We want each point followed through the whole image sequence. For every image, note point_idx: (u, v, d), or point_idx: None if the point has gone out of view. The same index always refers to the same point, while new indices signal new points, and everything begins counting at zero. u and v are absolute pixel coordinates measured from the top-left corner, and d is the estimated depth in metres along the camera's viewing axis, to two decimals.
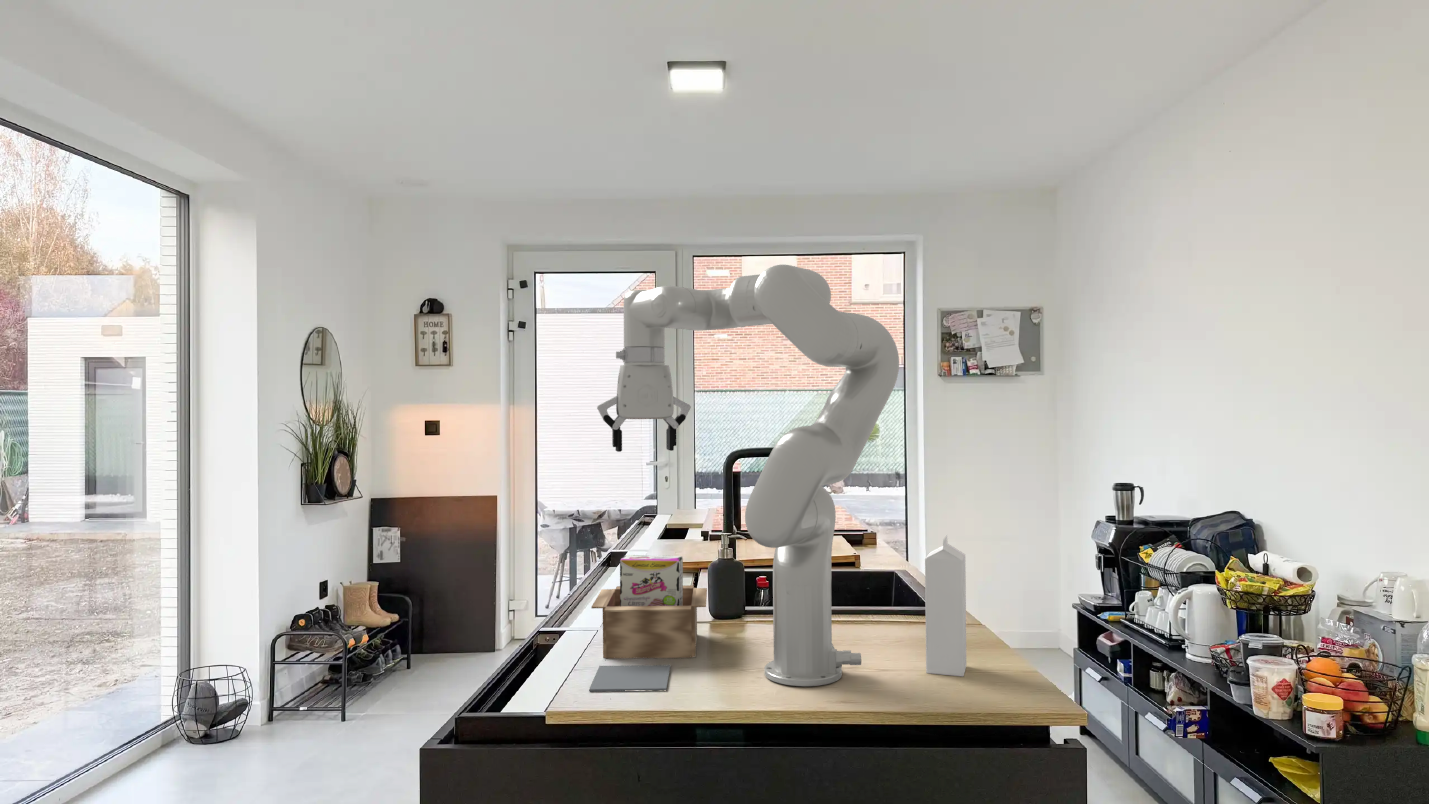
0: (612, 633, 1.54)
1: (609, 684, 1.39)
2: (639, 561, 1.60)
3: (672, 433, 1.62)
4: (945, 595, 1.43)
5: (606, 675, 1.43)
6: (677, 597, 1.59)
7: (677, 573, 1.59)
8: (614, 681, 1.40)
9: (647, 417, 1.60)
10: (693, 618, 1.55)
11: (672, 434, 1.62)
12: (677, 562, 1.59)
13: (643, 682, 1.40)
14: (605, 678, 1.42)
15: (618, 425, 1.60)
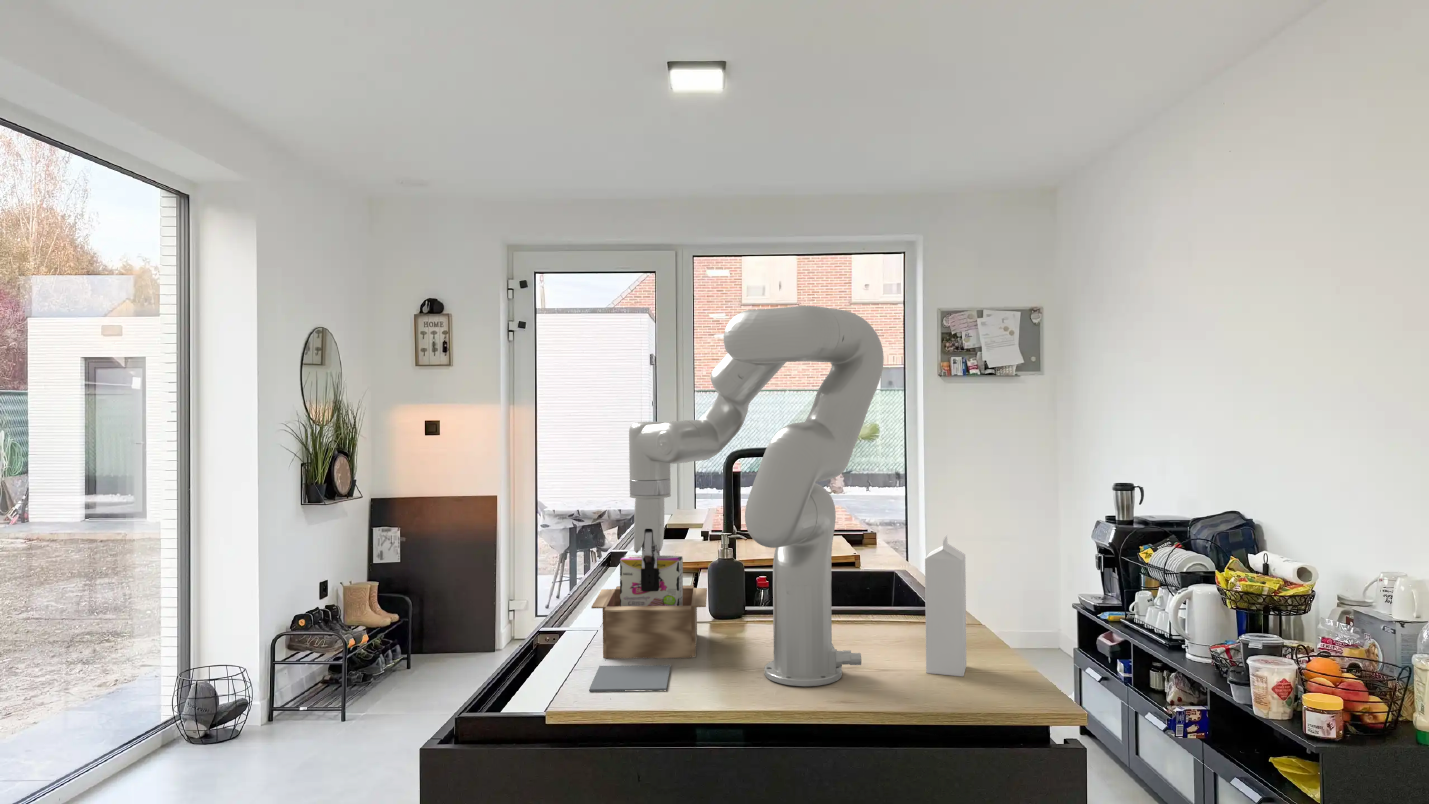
0: (612, 633, 1.54)
1: (609, 684, 1.39)
2: (639, 561, 1.60)
3: (641, 573, 1.59)
4: (945, 595, 1.43)
5: (606, 675, 1.43)
6: (677, 597, 1.59)
7: (677, 573, 1.59)
8: (614, 681, 1.40)
9: None
10: (693, 618, 1.55)
11: (641, 574, 1.59)
12: (677, 562, 1.59)
13: (643, 682, 1.40)
14: (605, 678, 1.42)
15: None
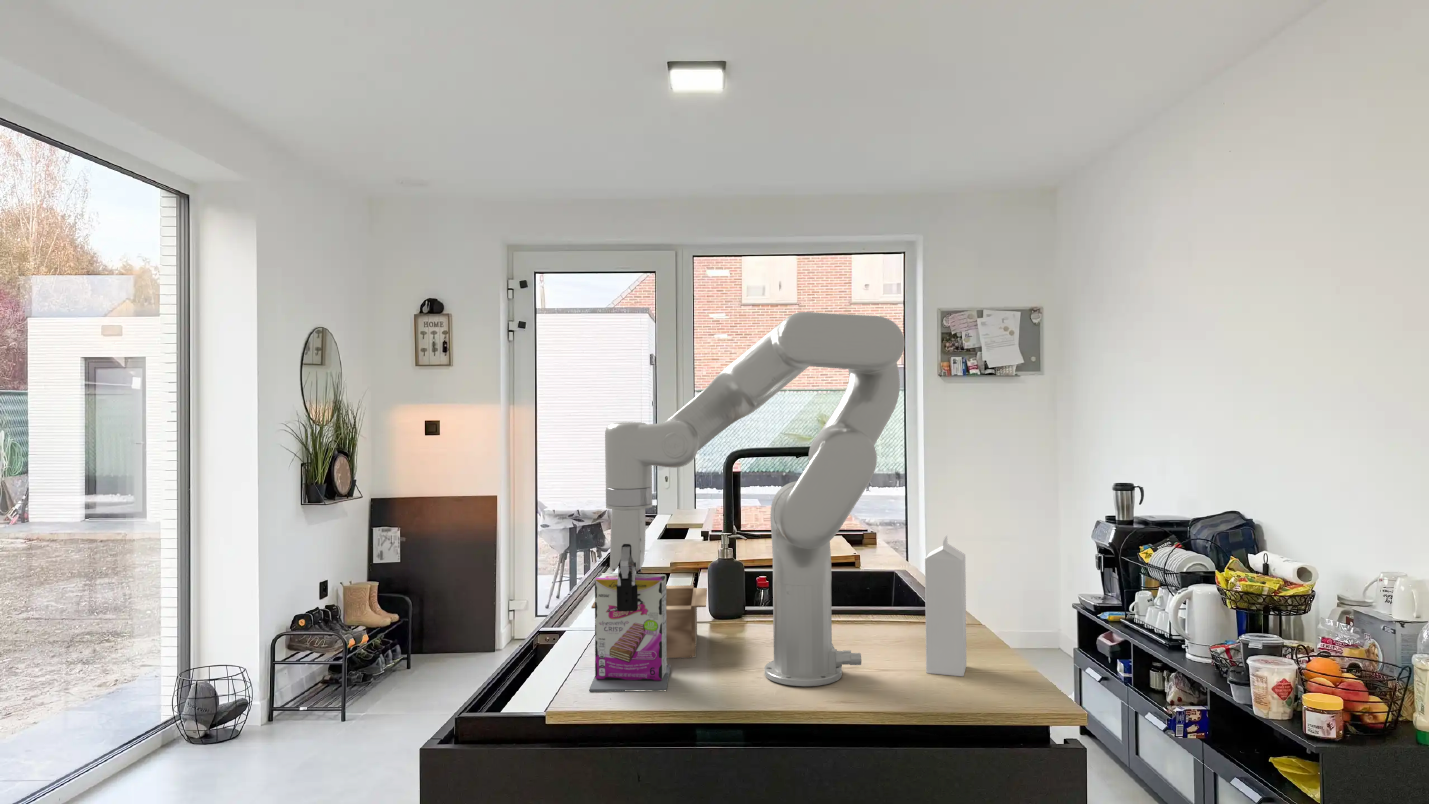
0: None
1: (609, 684, 1.39)
2: (616, 581, 1.41)
3: (617, 590, 1.38)
4: (945, 595, 1.43)
5: None
6: (659, 622, 1.40)
7: (659, 594, 1.40)
8: (614, 681, 1.40)
9: None
10: (693, 618, 1.55)
11: (617, 592, 1.38)
12: (659, 582, 1.40)
13: (643, 682, 1.40)
14: None
15: None
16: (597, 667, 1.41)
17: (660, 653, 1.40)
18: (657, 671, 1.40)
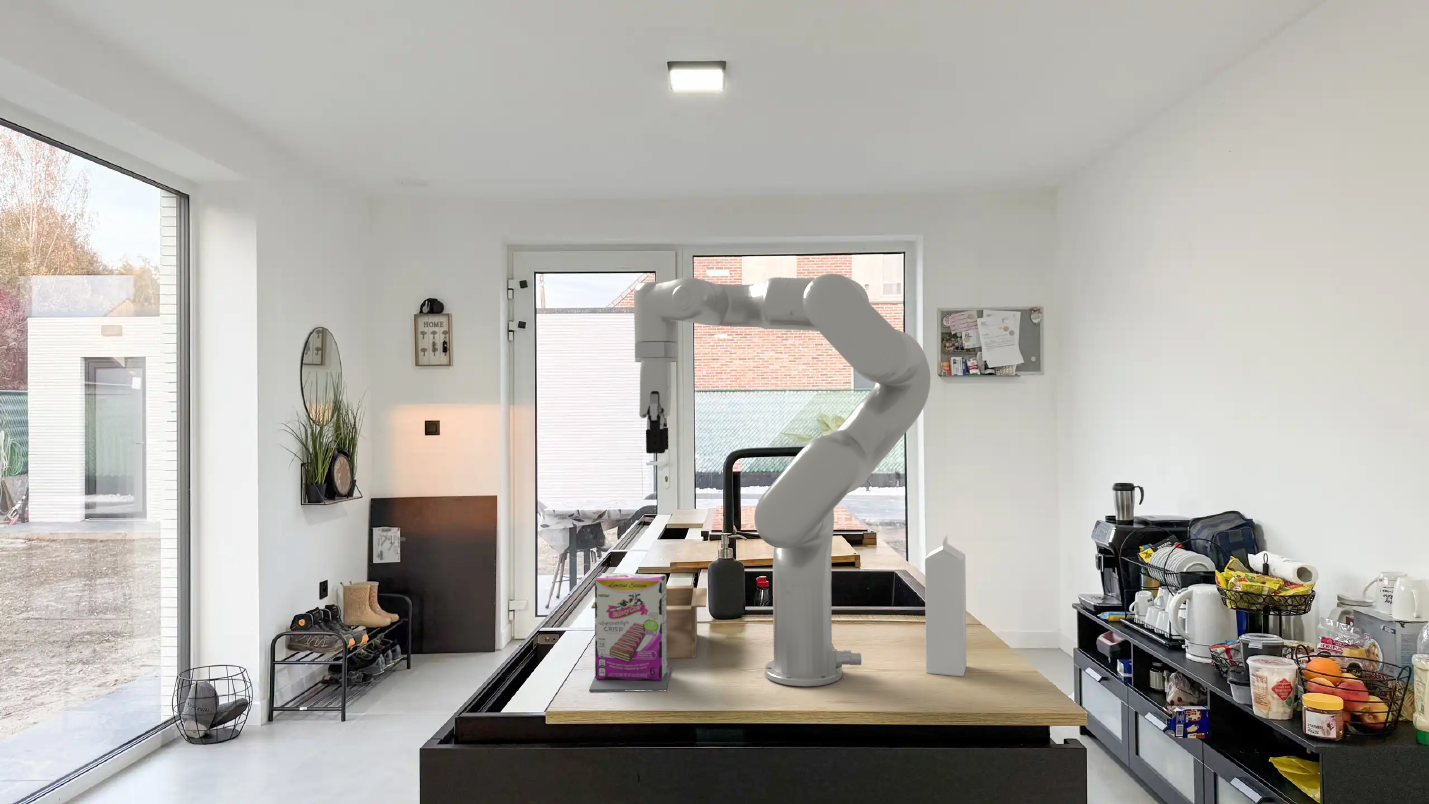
0: None
1: (609, 684, 1.39)
2: (616, 581, 1.41)
3: (646, 434, 1.49)
4: (945, 595, 1.43)
5: None
6: (659, 622, 1.40)
7: (659, 594, 1.40)
8: (614, 681, 1.40)
9: None
10: (693, 618, 1.55)
11: (646, 435, 1.49)
12: (659, 582, 1.40)
13: (643, 682, 1.40)
14: None
15: None
16: (597, 667, 1.41)
17: (660, 653, 1.40)
18: (657, 671, 1.40)
